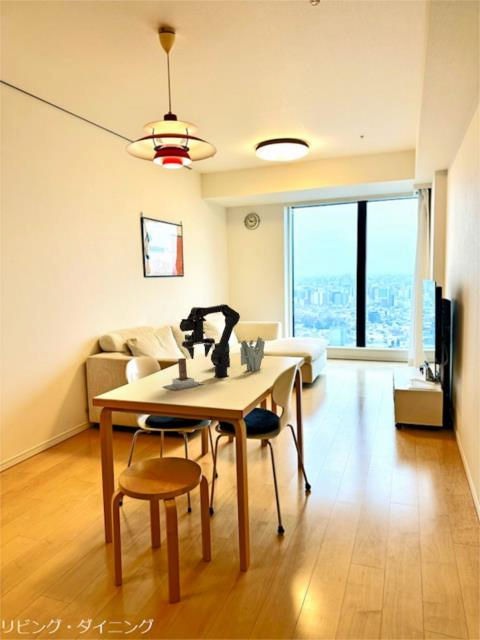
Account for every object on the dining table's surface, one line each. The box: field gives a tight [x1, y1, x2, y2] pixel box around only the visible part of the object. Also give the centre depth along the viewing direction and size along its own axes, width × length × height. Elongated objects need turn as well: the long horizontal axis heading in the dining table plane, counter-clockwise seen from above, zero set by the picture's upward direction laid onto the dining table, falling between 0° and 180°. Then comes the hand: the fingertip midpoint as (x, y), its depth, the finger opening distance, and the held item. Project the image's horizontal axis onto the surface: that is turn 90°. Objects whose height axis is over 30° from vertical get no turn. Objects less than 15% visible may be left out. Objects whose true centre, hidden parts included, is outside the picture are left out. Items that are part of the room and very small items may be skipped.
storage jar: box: [213, 342, 231, 368], centre depth 285 cm, size 10×10×15 cm
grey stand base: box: [162, 376, 205, 392], centre depth 235 cm, size 18×12×4 cm, turn 131°
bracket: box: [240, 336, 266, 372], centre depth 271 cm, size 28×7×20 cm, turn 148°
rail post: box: [177, 357, 188, 380], centre depth 235 cm, size 4×4×14 cm
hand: (199, 357), depth 245 cm, fingers open, 9 cm apart
